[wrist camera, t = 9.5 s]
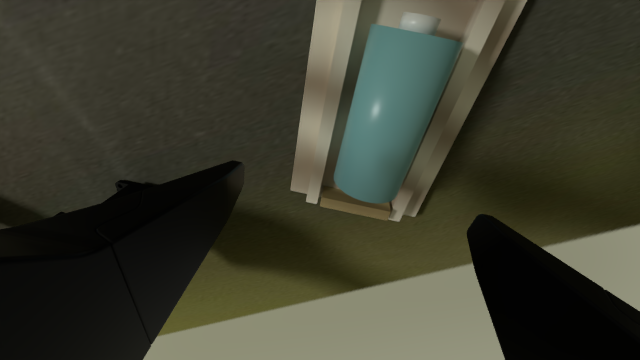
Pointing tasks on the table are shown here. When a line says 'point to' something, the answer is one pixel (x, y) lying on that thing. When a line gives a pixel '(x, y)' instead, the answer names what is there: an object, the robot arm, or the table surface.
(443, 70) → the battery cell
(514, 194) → the table surface
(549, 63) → the table surface
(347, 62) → the wooden tray
